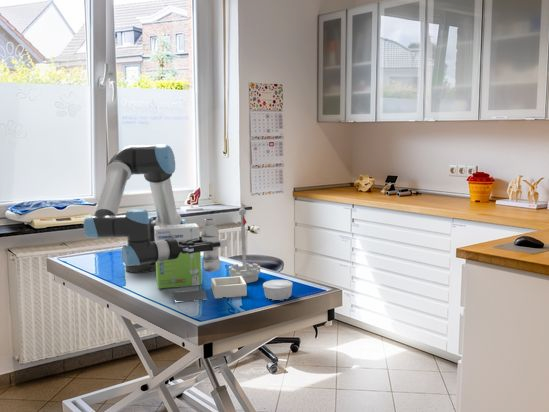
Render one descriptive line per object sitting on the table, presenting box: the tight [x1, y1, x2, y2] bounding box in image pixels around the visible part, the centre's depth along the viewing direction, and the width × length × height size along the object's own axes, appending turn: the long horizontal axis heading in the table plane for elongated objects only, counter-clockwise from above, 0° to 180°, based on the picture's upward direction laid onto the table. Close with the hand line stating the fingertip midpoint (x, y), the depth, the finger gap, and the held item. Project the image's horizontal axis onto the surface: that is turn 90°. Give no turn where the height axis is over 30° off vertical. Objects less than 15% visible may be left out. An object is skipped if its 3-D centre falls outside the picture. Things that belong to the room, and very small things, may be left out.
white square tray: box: [210, 276, 248, 299], centre depth 224 cm, size 12×12×4 cm
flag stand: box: [228, 207, 261, 284], centre depth 241 cm, size 13×13×30 cm
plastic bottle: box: [200, 218, 221, 273], centre depth 220 cm, size 6×7×20 cm
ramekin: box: [262, 279, 294, 301], centre depth 217 cm, size 11×11×5 cm
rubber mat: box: [172, 289, 208, 302], centre depth 221 cm, size 12×12×1 cm
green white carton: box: [154, 222, 203, 289], centre depth 237 cm, size 18×10×24 cm, turn 105°
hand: (222, 241), depth 223 cm, fingers closed on plastic bottle, 6 cm apart
